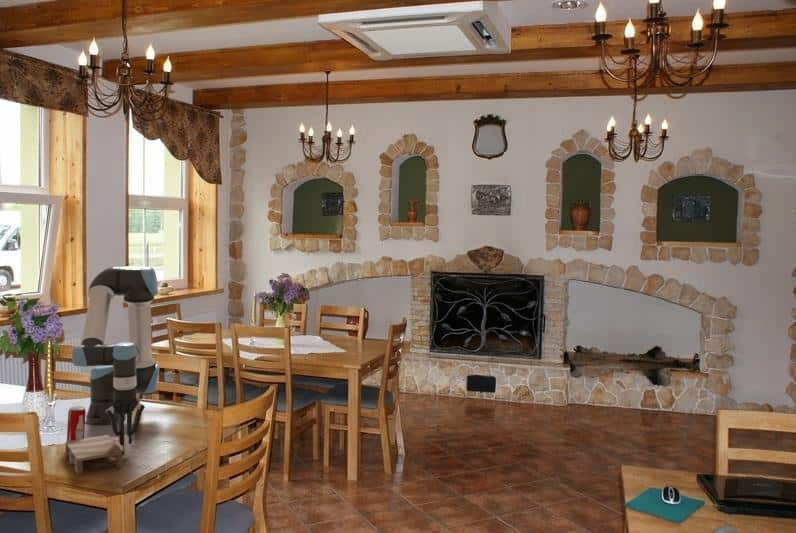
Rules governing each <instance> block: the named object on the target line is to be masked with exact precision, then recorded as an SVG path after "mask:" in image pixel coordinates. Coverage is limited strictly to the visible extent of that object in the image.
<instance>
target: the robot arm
mask: <svg viewBox="0 0 796 533" xmlns="http://www.w3.org/2000/svg"><path fill="white" fill-rule="evenodd" d="M158 288H159V287H158V278H157V274H156V271H155V269H154V268H153V267H151V266H143V265H141V266H110V267H108V268H106V269H104V270H102V271H101V272H99V273H98V274H97V275H96V276H95V277H94V278H93V279H92V280H91V282H90V284H89V286H88V290H87V292H88V293H87V297H88V300H89V301H88V304H87V305H88V306H87V311H86V317H85V322H84V328H83V331H82V338H81V342H80V343H81V344H78V345H74V346H73V348H72V351H71V352H72V353H71V361H72V365H73V366H74V367H92V368H91V369H90V375H89V376H90V378H89V380H90V384H89V386H90V387H89V389H90V403H89V406H88V409H87V412H86V415H85V423H87V424H89V425H95V426H98V425H101V426H102V425H105V426H106V425H111V429H112V432H113V435H115V436H116V437H119V439H118V440H119V445H120V446H122V451H123V452H124V456H127V455H129V454H130V445H131V444H132V443H133V440H132V439H133V438H132V437H133V434H136V433H138V430H139V426H140V421H141V418H142V414H143V413H142V412H143V411H144V410H145V408H146V406H145V405H144V404H143V403H140V402H139V400H138V395H139V394H141V395H142V394H144V395H145V394H151V393H154V392H156V391H157V386H158V380H159V373H160V365H159V364H157V363H156V359H155V358H153V357H152V355H153V354H152V352H153V351H152V320H151V319H152V317H151V316H152V315H151V312H152V310H151V303H152V302H153V301H155V297H156V296H158V294H159V289H158ZM115 296H117V297H123V302H125V303H126V304H127V313H128V316H127V317H128V319H127V320H128V341H127V342H118V343H115V344H113V343H112V344H105V340H106V333H107V332H106V331H107V327H108V321H109V320H108V319H109V314H110V309H111V308H110V307H111V302H112V301H113V300H114V299H115ZM135 409H136V411H135ZM134 411H135V415H134V420H133V412H134ZM125 420H126V433H127V434H125ZM117 423H118V426H117Z"/></svg>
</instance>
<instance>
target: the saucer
mask: <svg viewBox="0 0 796 533" xmlns="http://www.w3.org/2000/svg"><path fill="white" fill-rule="evenodd" d="M124 456H125V455H124V452H123V450H122V454H121V460H122V459H123V458H124ZM114 465H116V455H113V456H107V457H101V458H96V459H90V460H84V461H83V467H86V468H89V469H104V468H108V467H112V466H114Z"/></svg>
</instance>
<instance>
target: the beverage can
mask: <svg viewBox="0 0 796 533" xmlns="http://www.w3.org/2000/svg"><path fill="white" fill-rule="evenodd" d="M67 414H68V415H67V429H66V431H67V432H66V441H72V440H79V439H85V433H86V432H85V430H86V429H85V428H86V415H87V412H86V408H85V407H84V406H78V405H77V406H72V407H70V408H69V410H68V412H67Z"/></svg>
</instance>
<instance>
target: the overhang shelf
mask: <svg viewBox="0 0 796 533" xmlns="http://www.w3.org/2000/svg"><path fill="white" fill-rule="evenodd" d="M122 451H123V449H121V448H120V447H119V445H117V443H116V442H115V441H114V440H113V438H111V436H110V435H109V434H105V435H98V436H91V437H87V438H85V437H84V439H79V440H72V441H67V440H66V441H65V460H68V462H69V463H70V464H71V465H72V464H74V471H75V473H76V474H77V477H83V476H84V465H83V461H84V460H90V459H96V458H101V457H107V456H113V455H116V464H115V468H116V470H122V459H121V454H122Z"/></svg>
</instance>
